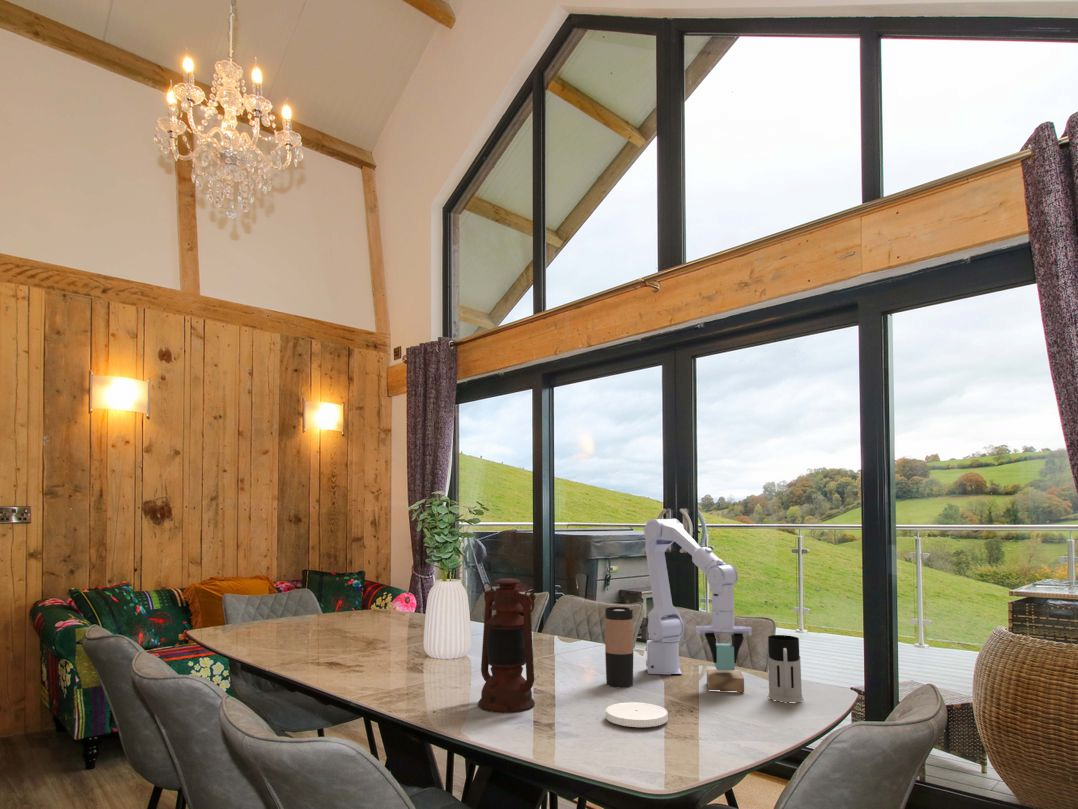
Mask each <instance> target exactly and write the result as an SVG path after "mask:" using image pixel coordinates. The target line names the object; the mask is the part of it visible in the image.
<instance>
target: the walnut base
mask: <svg viewBox="0 0 1078 809" xmlns="http://www.w3.org/2000/svg"><path fill="white" fill-rule="evenodd" d="M706 684H708V686H707V689H708V688H709V690H720V691H737V692H744V693H745V678H744V675H743V673H742V670H717V669H708V668H707V669H706ZM709 690H708V691H709Z"/></svg>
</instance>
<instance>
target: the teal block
mask: <svg viewBox="0 0 1078 809" xmlns="http://www.w3.org/2000/svg"><path fill="white" fill-rule="evenodd" d="M716 657H717V663H714V667H715V668H716V669H715V670H735V663H734V646H733V645H732V643H720V642H718V643H717V642H716Z"/></svg>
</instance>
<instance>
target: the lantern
mask: <svg viewBox="0 0 1078 809" xmlns="http://www.w3.org/2000/svg"><path fill="white" fill-rule="evenodd" d="M521 583H522V582H521V580H519V579H517V578H512V577H511V578H507V577H505V578H498V579H497V580H496V579H495V581H494V584H497V585H498V587H496V588H495V590H494V589H493V586H492V584H491V583H490V582H488V581H486V582H484V583H483V584H482V592H483V594H484V595H483V597H484V602H485V605H484V617H483V618H484V619H483V630H482V631H483V634H482V648H481V663H480V666H481V667H480V673H481V677H482V678H483V681H484V682H485V683H484V684H483V686H482V689H481V695H480V696H481V698H480V699H479V700H478V702H477V703H478V704H477V705H478V706H477V707H478V708H479V709H481V710H482V711H485V712H489V713H494V714H495V713H497V714H515V713H522V712H526V711H529V710H531V709H533V708H534V707H535V706H536V701H535V700H534V699H533V691H532V688H533V686H534V683H535V669H534V666H535V665H534V648H533V647H534V646H533V627H532V612H533V611H534V609H535V607H536V606H535V605H536V604H535V600H536V598H537V597H536V595H535V588H534V587H532V586H529V587H528V588H527V589H526V590H525V592H524V593H521V592H520V588H519V587H516V586H517V585H520V584H521ZM487 584H488V585H489V587H490V589H489V590H486V591H485V585H487ZM530 589H532V592H530V594H529V595H528V592H529V590H530ZM493 611H495V614H494V615H493ZM524 665H525V677H523V675H522V674H523V672H524V667H523V666H524ZM489 666H490V672H489ZM525 678H526V679H525Z"/></svg>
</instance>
